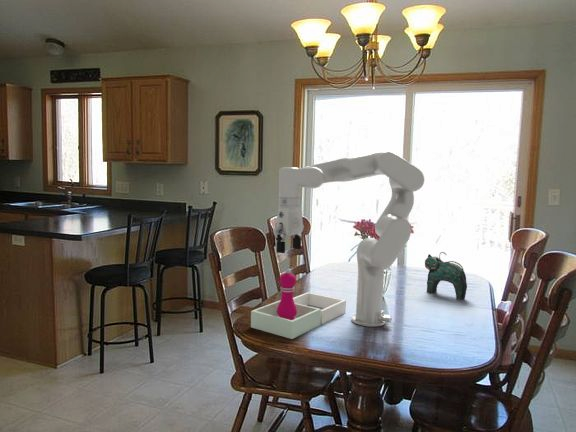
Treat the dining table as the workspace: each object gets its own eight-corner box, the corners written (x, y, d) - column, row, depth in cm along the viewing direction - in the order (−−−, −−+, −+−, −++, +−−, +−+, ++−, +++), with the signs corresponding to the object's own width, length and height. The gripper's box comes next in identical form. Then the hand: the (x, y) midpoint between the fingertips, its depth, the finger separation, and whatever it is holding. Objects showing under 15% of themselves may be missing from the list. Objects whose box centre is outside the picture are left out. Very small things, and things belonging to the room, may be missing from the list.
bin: (320, 325, 171) (320, 309, 170) (292, 339, 156) (292, 321, 156) (280, 314, 181) (281, 299, 181) (250, 327, 167) (251, 310, 166)
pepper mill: (294, 327, 165) (296, 271, 163) (274, 325, 166) (275, 270, 164) (298, 321, 172) (299, 267, 170) (279, 319, 173) (280, 266, 171)
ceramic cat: (422, 291, 221) (424, 249, 219) (429, 289, 226) (432, 248, 223) (461, 301, 206) (464, 256, 204) (468, 299, 211) (471, 255, 209)
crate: (345, 312, 186) (345, 300, 186) (321, 324, 172) (322, 311, 171) (307, 303, 197) (308, 292, 196) (282, 314, 182) (282, 301, 182)
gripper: (283, 204, 155) (283, 255, 157) (311, 201, 169) (311, 248, 171) (265, 203, 159) (265, 253, 161) (294, 200, 173) (294, 246, 175)
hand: (289, 250), depth 166 cm, fingers open, 9 cm apart
